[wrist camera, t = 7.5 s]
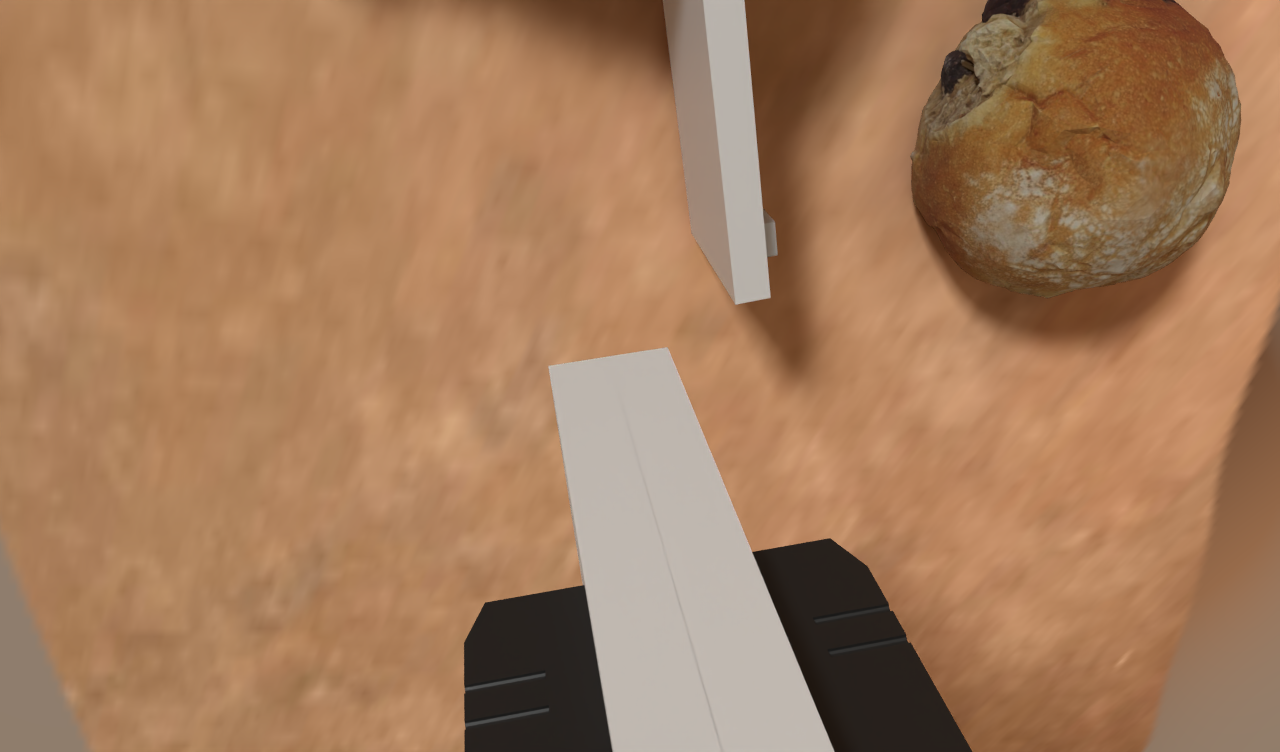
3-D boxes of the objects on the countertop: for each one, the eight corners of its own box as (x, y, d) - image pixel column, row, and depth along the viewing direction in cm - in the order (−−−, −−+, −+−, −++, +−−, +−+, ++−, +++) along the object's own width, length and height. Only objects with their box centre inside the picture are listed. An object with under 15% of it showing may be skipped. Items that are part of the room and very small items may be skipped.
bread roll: (879, 230, 39) (976, 392, 34) (874, 2, 31) (1001, 173, 26) (1123, 142, 39) (1254, 292, 34) (1186, -110, 30) (1370, 41, 26)
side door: (690, 231, 33) (737, 307, 28) (651, -82, 29) (697, -66, 23) (737, 222, 34) (793, 296, 28) (706, -91, 29) (765, -78, 23)
